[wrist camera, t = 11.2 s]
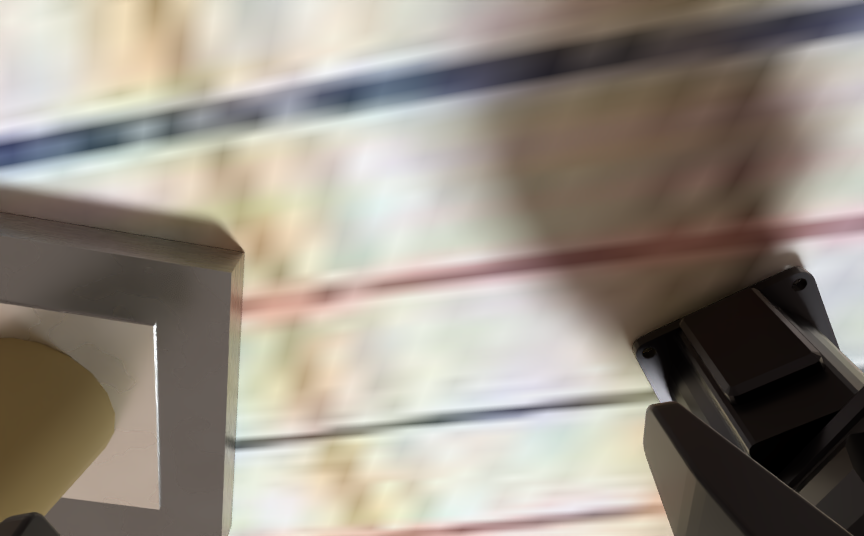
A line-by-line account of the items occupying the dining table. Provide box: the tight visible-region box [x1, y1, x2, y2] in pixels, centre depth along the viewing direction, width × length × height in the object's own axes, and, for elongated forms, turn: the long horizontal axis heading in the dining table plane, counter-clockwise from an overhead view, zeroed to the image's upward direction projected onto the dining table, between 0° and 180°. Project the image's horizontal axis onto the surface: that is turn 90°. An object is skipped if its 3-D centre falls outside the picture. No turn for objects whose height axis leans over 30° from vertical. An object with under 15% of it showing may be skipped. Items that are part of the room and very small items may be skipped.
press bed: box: [0, 212, 244, 536], centre depth 22 cm, size 14×14×2 cm
